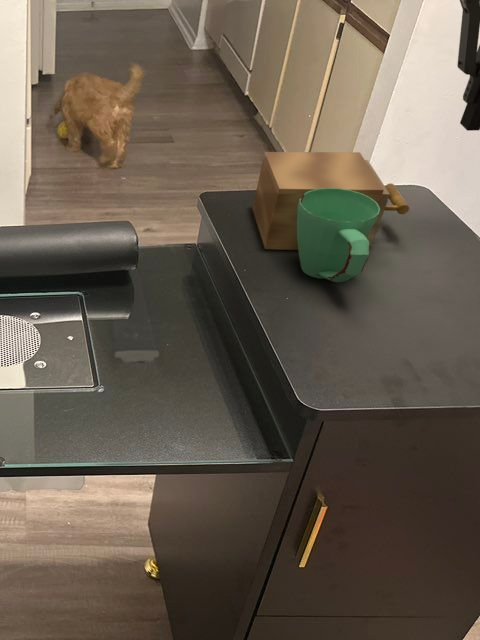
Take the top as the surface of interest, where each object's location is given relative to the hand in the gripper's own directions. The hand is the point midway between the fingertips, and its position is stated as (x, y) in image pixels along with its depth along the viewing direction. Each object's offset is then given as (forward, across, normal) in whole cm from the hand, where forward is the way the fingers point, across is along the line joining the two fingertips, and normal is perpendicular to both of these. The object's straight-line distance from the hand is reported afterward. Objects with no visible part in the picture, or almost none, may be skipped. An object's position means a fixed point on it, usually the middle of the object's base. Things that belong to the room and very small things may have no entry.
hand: (469, 126), depth 98 cm
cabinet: (+16, -18, 0) cm, 24 cm away
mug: (+16, -18, -14) cm, 27 cm away
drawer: (+15, -14, 0) cm, 20 cm away
